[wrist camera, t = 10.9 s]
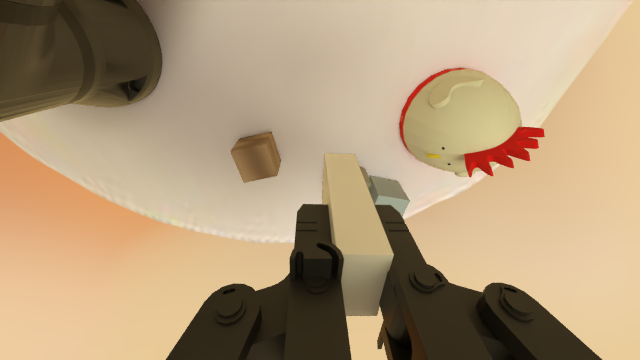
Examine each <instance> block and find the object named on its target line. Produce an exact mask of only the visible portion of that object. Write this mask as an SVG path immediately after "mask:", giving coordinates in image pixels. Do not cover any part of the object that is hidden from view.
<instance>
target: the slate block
mask: <svg viewBox="0 0 640 360" xmlns="http://www.w3.org/2000/svg"><path fill="white" fill-rule="evenodd" d="M369 180H370V182H371V184H372V185H371V186H370V187H369V188H368V190H369V193H370V195H371V198H372V200H373V203H374V205H391V206H393V207H394V208H395V209H396V210H397V211H398V212H399V213H400V214H401V216H403V214H404V212H405V210H406V208H407V206H408V204H409V202H410V200H409V198H408V197H407V195H406V194H405V192H404V190H403V189H402V187H401V186H400V184H399V182H398V181H396V180H390V179H385V178H380V177H374V176H370V177H369Z"/></svg>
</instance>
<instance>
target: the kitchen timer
mask: <svg viewBox="0 0 640 360" xmlns="http://www.w3.org/2000/svg"><path fill="white" fill-rule="evenodd" d="M399 125H400V135H401V138H402V140H403V143H404V145H405V147H406V148H407V149H408V150H409V151H410V152H411V153H412V154H413V155H414V156H415V157H416V158H417V159H418V160H420V161H422V162H424V163H426V164H428V165H430V166H432V167H435V168H438V169H441V170H445V171H451V172H455V174H456V175H457V176H461V177H467V176H469V177H471V176H472V175H473V174H474V173H475V171H481V170H482V171H484V172H485V173H487V174H488V175H490V176H493V172H492V169H491V167H492V166H494V165H496V164H498V163H499V164H501V165H504V166H507V167H510V168H514V165H513V161H512V159H511V158H510V157H508V155H509V156H513V157H516V158H519V159H522V160H526V161H530V156H529V152H528V151H526V150H525V149H524V148H532V149H537V148H539V147H538V140H536V139H533V138H528V137H544V130H543V129H541V128H533V127H522V122H521V116H520V111H519V107H518V105H517V104H516V102H515V100H514V99H513V97H512V96H511V94H510V93H509V92H508V91H507V90H506V89H505V88H504V87H503V86H502V85H501V84H500V83H499V82H498V81H496V80H494V79H493V78H491V77H490V76H488V75H487V74H485V73H483V72H480V71H475V70H470V69H465V68H455V69H447V70H444V71H441V72H439V73H437V74H434V75H432V76H430V77H429V78H428V79H426V80H425V81H424V82H422V83H421V84H420V85H419V86H418V87H417V88H416V89H415V90H414V92H413V93H412V94H411V95H410V96H409V98H408V100H407V102H406V104H405V106H404V108H403V110H402V114H401V119H400V124H399Z"/></svg>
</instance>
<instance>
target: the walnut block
mask: <svg viewBox="0 0 640 360" xmlns="http://www.w3.org/2000/svg"><path fill="white" fill-rule="evenodd" d="M231 154H232V156H233V158H234V161H235V163H236V165H237V168H238V170H239V172H240V175H241V177H242V179H243V182H249V181H254V180H259V179H264V178H269V177H273V176H277V174H278V170H279V166H280V162H281V160H280V157H279V154H278V151H277V148H276V145H275V142H274V138H273V135H272V132H268V133H264V134H259V135H255V136H250V137H246V138H241V139H239V141H238V142H237V143H236V145H235V146H234V147H233V149H232V150H231Z"/></svg>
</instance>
